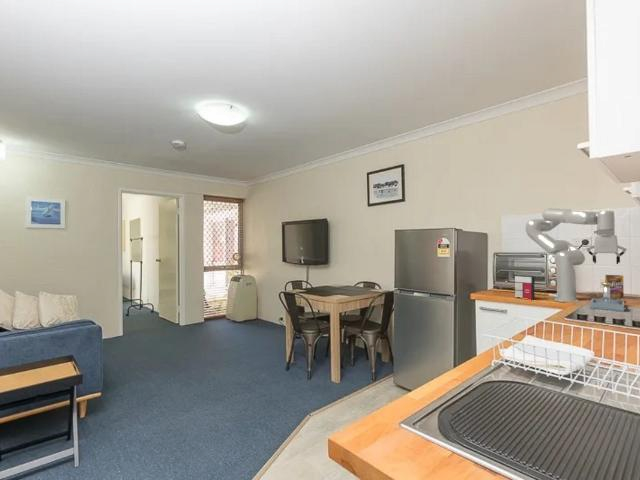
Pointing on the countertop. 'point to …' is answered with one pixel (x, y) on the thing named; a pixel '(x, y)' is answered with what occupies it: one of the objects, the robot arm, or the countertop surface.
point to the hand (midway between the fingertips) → (606, 263)
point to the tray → (607, 305)
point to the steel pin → (606, 292)
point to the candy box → (615, 284)
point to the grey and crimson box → (524, 286)
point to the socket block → (612, 296)
